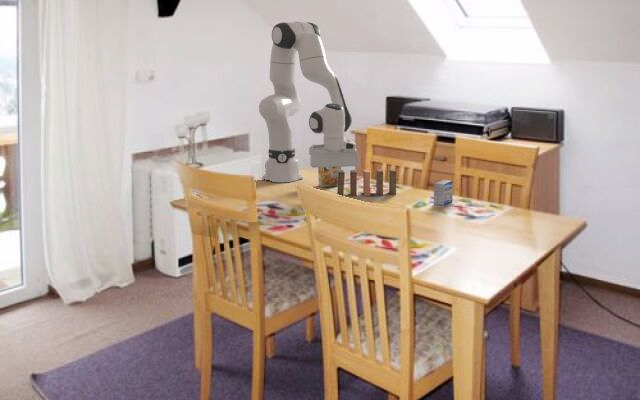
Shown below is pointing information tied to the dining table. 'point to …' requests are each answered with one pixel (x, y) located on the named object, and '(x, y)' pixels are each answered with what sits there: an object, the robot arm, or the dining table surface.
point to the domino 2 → (353, 183)
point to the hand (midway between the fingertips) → (334, 177)
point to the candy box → (327, 177)
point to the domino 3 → (366, 182)
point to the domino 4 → (379, 181)
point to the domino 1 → (341, 182)
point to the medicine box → (443, 192)
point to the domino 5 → (392, 181)
